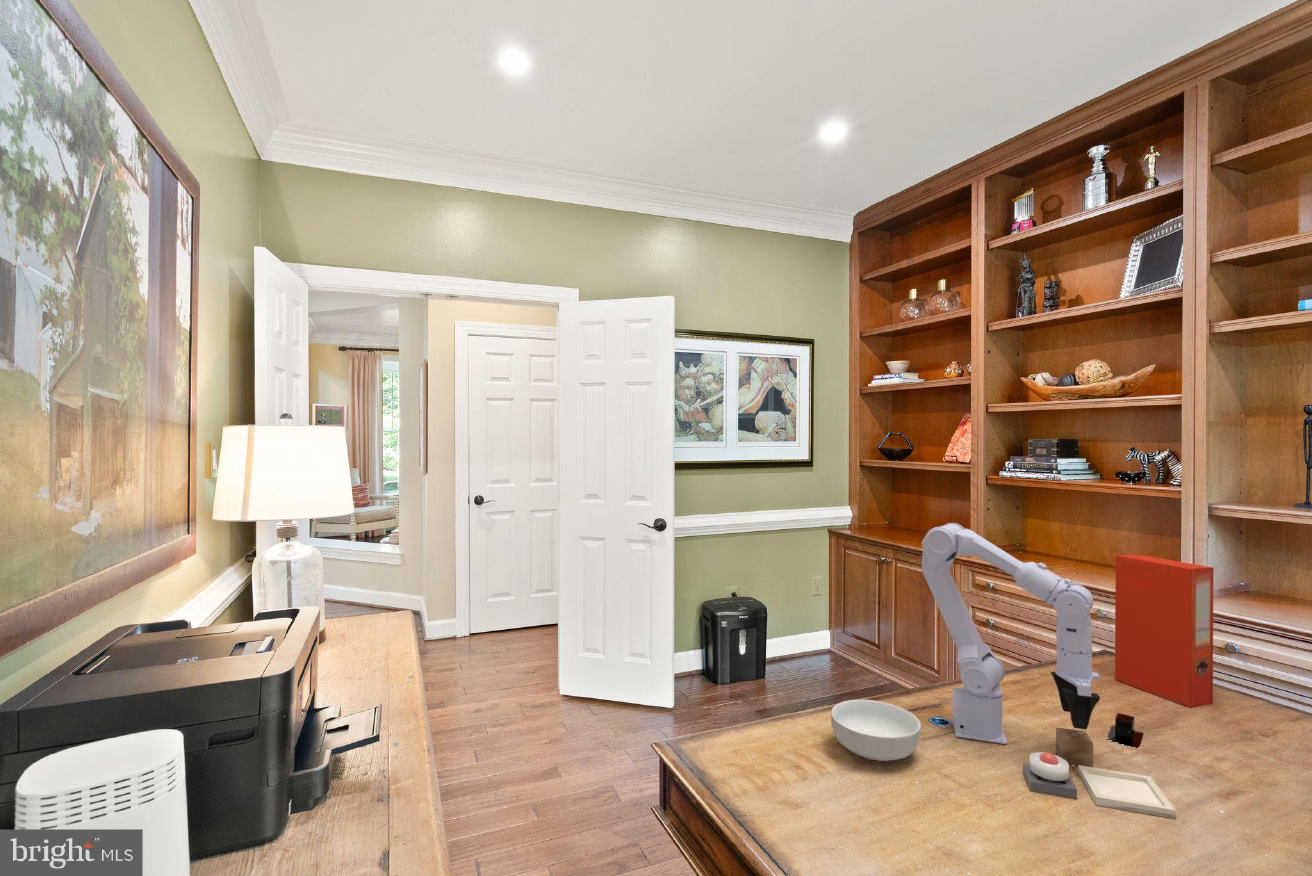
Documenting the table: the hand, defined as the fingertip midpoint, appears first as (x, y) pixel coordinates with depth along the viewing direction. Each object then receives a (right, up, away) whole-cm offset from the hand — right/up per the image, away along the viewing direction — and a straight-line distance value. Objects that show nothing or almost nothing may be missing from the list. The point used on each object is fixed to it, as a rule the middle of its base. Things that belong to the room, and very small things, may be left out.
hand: (1074, 719), depth 121 cm
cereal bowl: (-37, -8, +3) cm, 38 cm away
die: (0, -8, 0) cm, 8 cm away
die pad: (+1, -8, -12) cm, 14 cm away
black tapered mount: (+17, -9, +10) cm, 21 cm away
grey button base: (-10, -8, -8) cm, 15 cm away
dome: (-10, -7, -8) cm, 15 cm away
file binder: (+43, -8, +33) cm, 55 cm away
